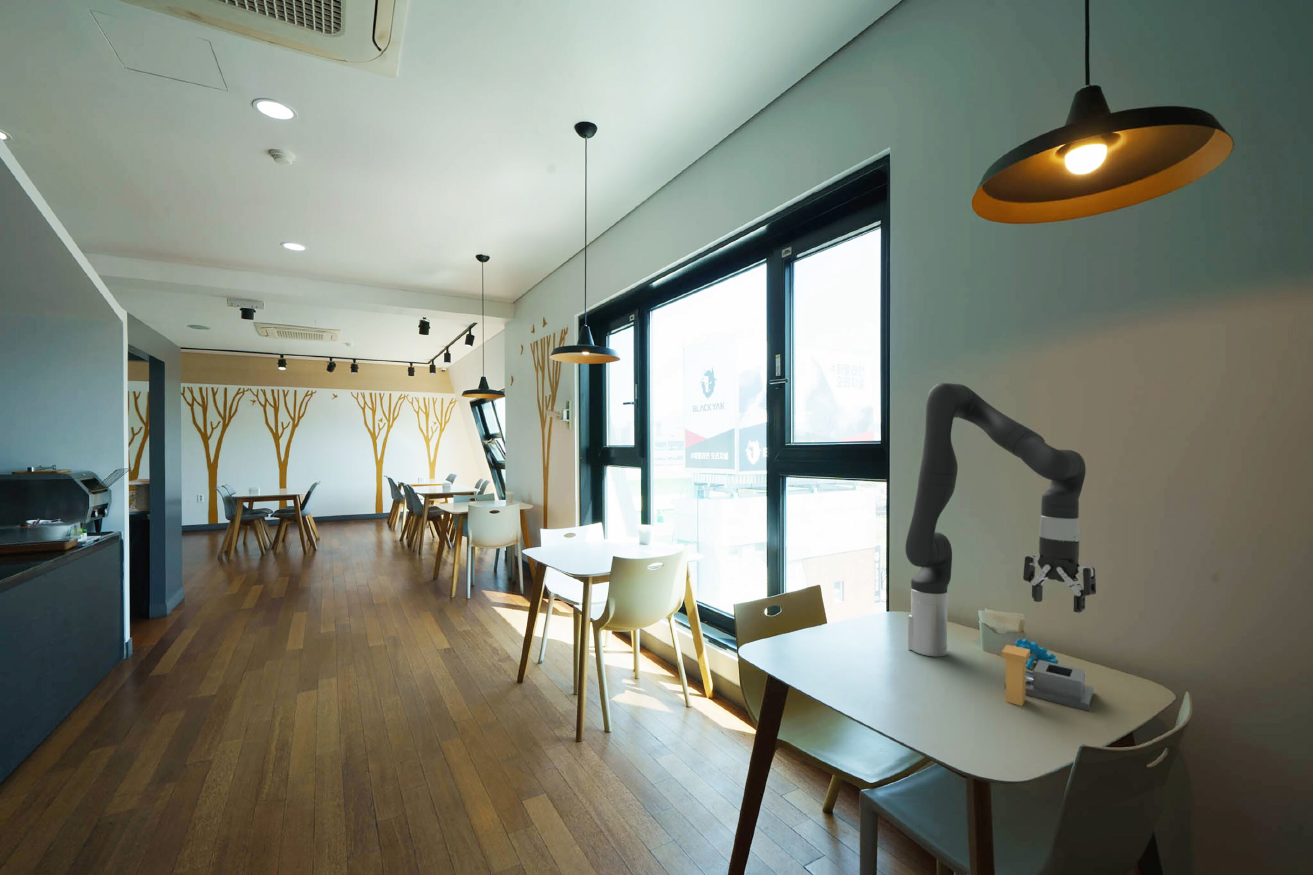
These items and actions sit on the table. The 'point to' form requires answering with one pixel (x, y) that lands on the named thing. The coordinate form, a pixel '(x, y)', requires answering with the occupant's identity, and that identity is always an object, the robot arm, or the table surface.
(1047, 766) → the table surface
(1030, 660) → the blue jagged figurine
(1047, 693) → the gray slotted base block
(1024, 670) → the yellow t-shaped post
